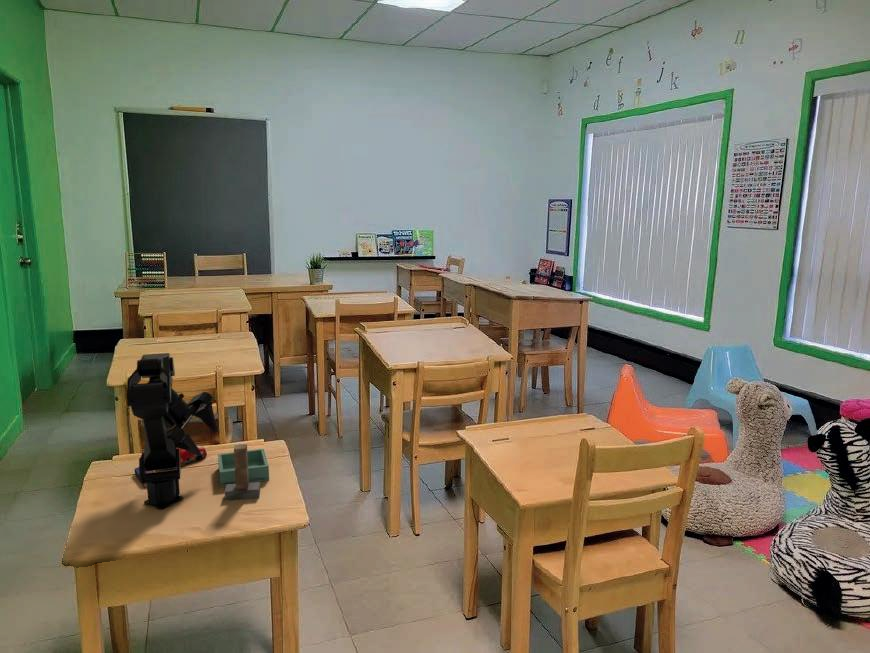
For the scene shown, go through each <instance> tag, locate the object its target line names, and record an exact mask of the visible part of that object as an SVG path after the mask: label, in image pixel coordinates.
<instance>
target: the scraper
mask: <svg viewBox="0 0 870 653" xmlns="http://www.w3.org/2000/svg"><path fill="white" fill-rule="evenodd" d="M247 451H248V444H247V443H244V444H243V443H241V444H234V448H233V452H234V461H235V480H236V484H227V485H226V486H225V489H224V501H225V500H227V501H228V500H229V501H238V500H239V501H240V500H250V499H251V500H253V499H254V500H257V499H260V495H261V481H260V482H253V483H249V474H248V454H247ZM227 501H226V502H227Z"/></svg>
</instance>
